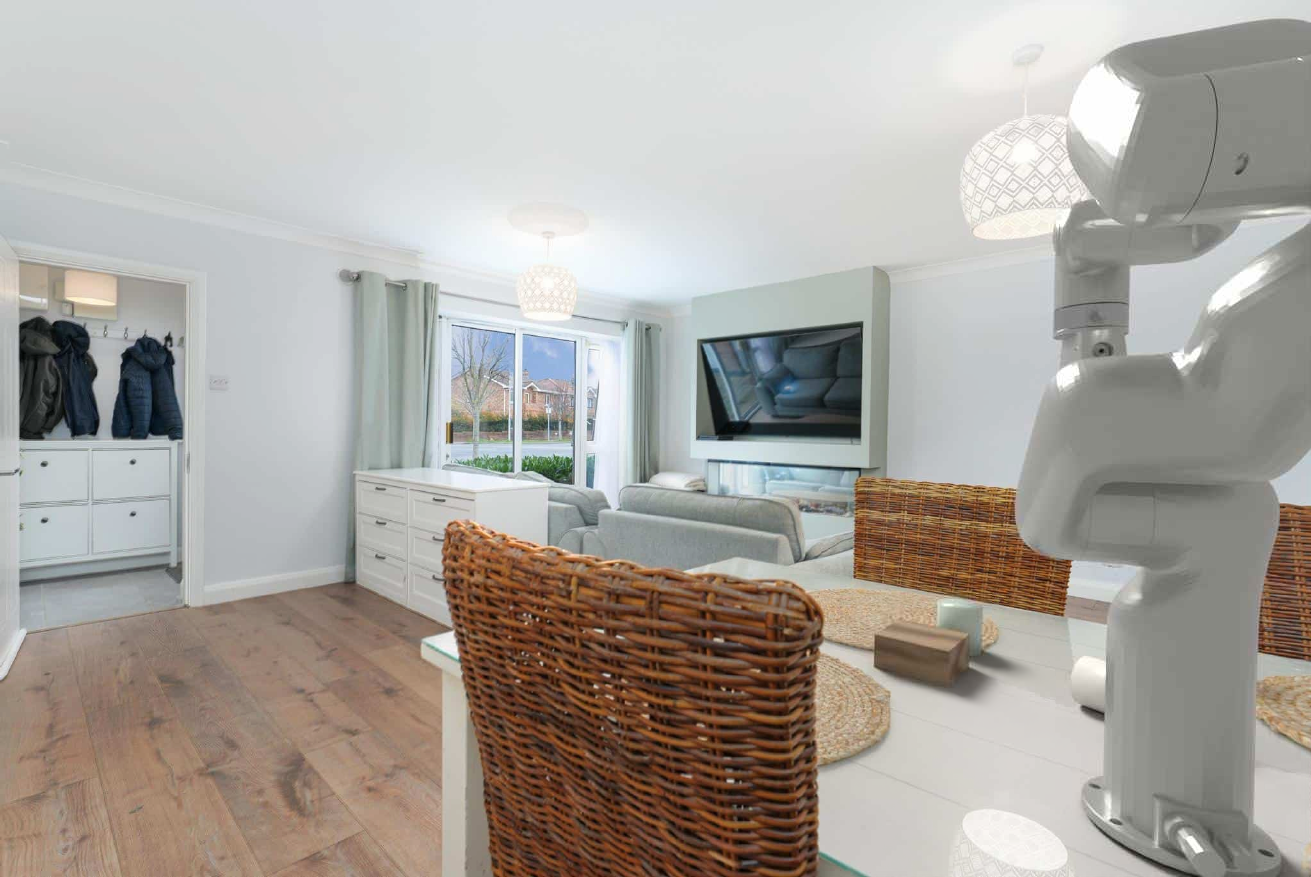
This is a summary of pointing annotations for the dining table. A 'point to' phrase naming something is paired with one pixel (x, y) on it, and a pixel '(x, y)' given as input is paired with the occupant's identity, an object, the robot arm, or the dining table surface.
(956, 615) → the pale green rounded cylinder
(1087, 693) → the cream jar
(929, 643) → the tan box
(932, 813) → the dining table surface
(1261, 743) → the dining table surface
